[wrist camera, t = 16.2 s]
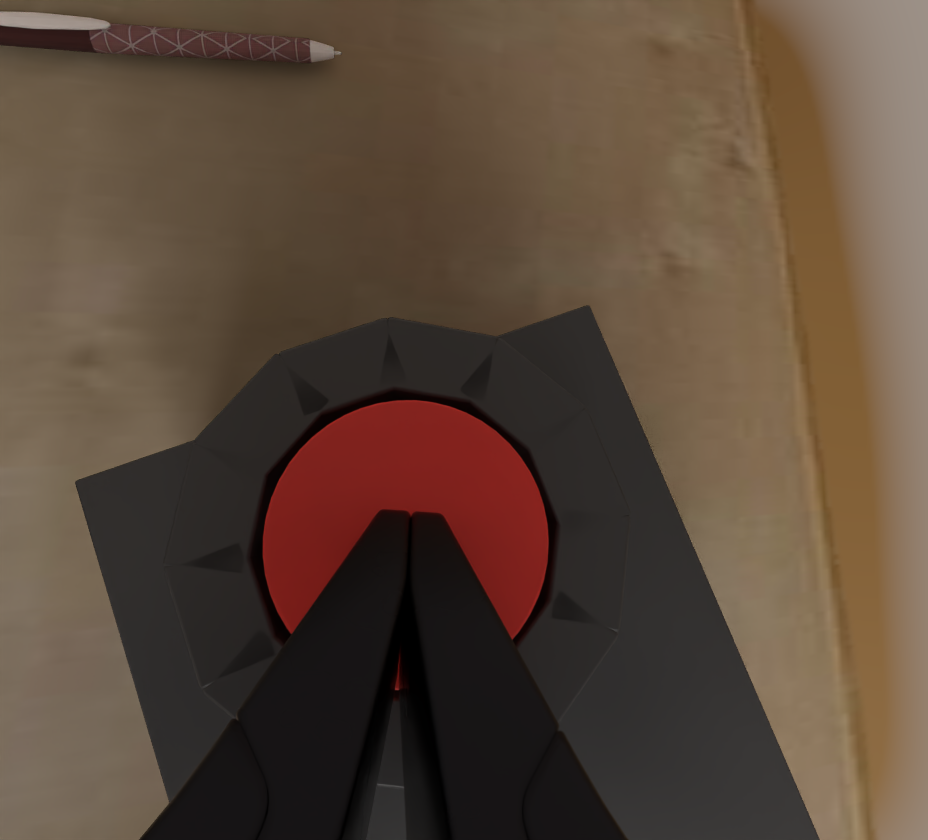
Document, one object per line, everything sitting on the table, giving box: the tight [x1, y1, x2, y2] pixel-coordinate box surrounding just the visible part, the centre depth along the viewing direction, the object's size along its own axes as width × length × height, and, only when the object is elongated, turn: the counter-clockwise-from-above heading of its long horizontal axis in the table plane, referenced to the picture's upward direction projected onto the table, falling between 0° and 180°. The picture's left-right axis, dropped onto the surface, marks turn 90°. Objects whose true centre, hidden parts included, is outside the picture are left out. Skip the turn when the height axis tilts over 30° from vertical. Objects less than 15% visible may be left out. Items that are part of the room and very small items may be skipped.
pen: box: [0, 11, 342, 63], centre depth 18 cm, size 11×1×1 cm, turn 92°
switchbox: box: [75, 305, 820, 840], centre depth 13 cm, size 12×10×8 cm
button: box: [263, 400, 549, 690], centre depth 10 cm, size 4×4×2 cm
